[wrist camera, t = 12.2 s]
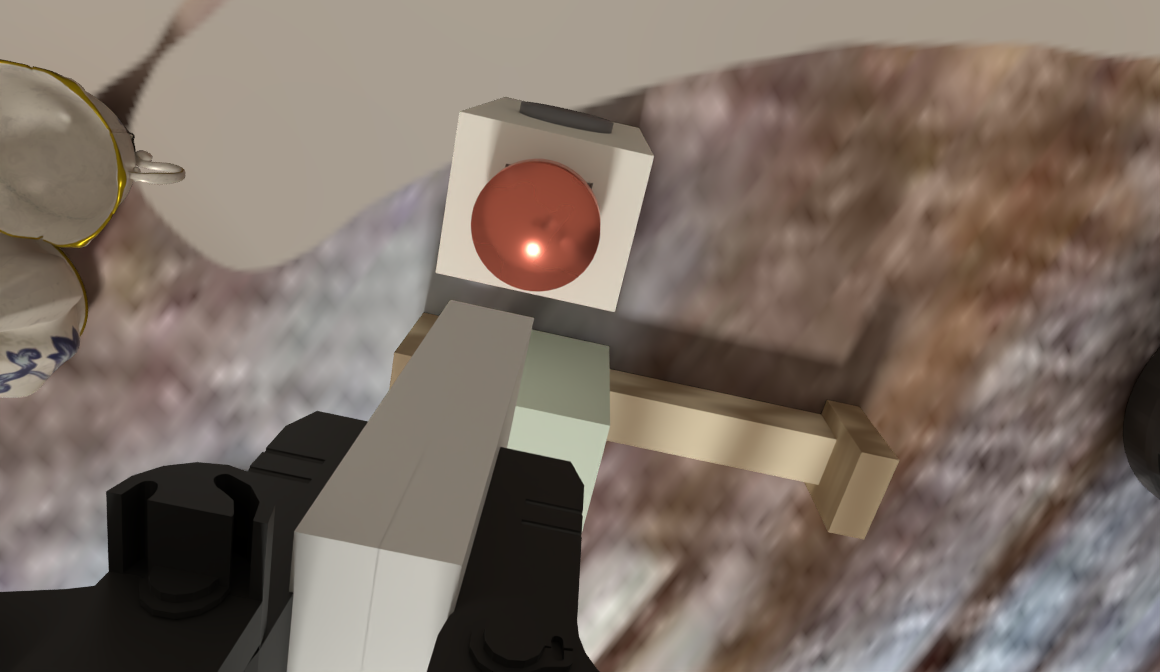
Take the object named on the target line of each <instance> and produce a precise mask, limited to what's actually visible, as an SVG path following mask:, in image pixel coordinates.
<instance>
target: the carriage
mask: <svg viewBox="0 0 1160 672" xmlns="http://www.w3.org/2000/svg"><path fill="white" fill-rule="evenodd" d="M609 428H610V375H609V346H605V345H601V344H596V343H592V342H587V341H582V340H578V339H573V338H569V337H564V336H559V335H555V334H550V333H546V332H541V331H536V330H532V331H531V335H530V340H529V345H528V350H527V355H526V359H525V364H524V369H523V374H522V379H521V383H520V388H519V393H518V398H517V403H516V407H515V412H514V417H513V422H512V427H511V431H510V436H509V441H508V446H507V448H509V449H514V450H518V451H523V452H528V453H533V454H537V455H542V456H547V457H552V458H556V459H561V460H566V461H571V463H572V464H573V466H574V468H575V470H576V472H577V473H578V475H579V477H580V479H581V480H582V482H583V484H584V502H583V513H582V515H583V521H582V530H583V526H584V522H585V519H586V515H587V511H588V507H589V504H590V500H591V496H592V492H593V488H594V485H595V481H596V477H597V473H598V470H599V466H600V462H601V458H602V455H603V451H604V447H605V443H606V440H607V436H608V432H609ZM581 534H582V533H581Z"/></svg>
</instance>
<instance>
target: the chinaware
mask: <svg viewBox="0 0 1160 672" xmlns="http://www.w3.org/2000/svg"><path fill="white" fill-rule="evenodd" d="M134 138H135V135H134V134H133V133H131V132H129V134H128V133H127V130H126V128H125V127H124V125H123V124H122V123H121V121H120V120H119V119H118V117H117V116H116V115H115V114H114V113H113V112H112V111H111V110H110V109H109V108H108V107H107V106H106V105H105V104H104V103H103V102H101V101H100V100H98V99H97V98H96V97H94V96H93V95H91V94H89V93H88V92H86V91H85V89H84V88H83V87H82V86H81V85H80V84H79V83H77V82H76V81H74V80H72V79H70V78H66V77H63V76H62V75H59V74H57V73H55V72H53V71H50V70H46V69H42V68H38V67H34V66H33V67H30V66H28V65H25V64H20V63H16V62H11V61H6V60H1V59H0V397H3V398H19V397H26V396H29V395H31V394H33V393H35V392H36V391H37V390H39V389H40V388H41V387H42V385H43V384H44V383H45V381H46V380H47V379H48V378H49V377H50V376H51V375H52V374H53V373H54V372H55V371H56V370H57V369H58V368H59V367H60V366H61V365H62V364H63V363H64V362H66V361H67V360H68V359H70V358H71V357H72V356H73V355H74V354H75V353H76V352H77V350H78V349H79V346H80V336H81V335H82V333H83V331H84V328H85V326H86V322H87V317H88V300H87V295H86V291H85V287H84V285H83V282H82V280H81V277H80V275H79V274H78V272H77V270H76V268H75V267H74V265H73V264H72V262H71V261H70V260H69V258H68V257H67V256H66V255H65V254H64V253H63V251H62V250H61V249H60V248H59V247H73V248H82V247H84V246H86V245H88V244H89V243H90V241H91V240H92V239H94V238H95V237H96V236H97V235H98V234H99V233H100V232H101V231H102V230H103V228H104V227H105V226H106V225H107V223H108V222H109V221H110V219H111V218H112V215H113V214H114V213H115V212H116V210H117V208H118V206H119V205H120V204H121V203H122V201H123V200H124V199H125V198H126V196H127V195H128V193H129V191H130V188H131V186H132V183H133V180H134V181H136V182H137V181H141V182H146V183H151V184H172V183H176V182H180V181H182V180H183V179H184V178H185V170H184V169H183V168H182V167H180V166H177V165H174V164H170V163H160V162H151V161H152V160H151V159H152V155H151V154H150V153H148V152H146V151H143V150H140V151H137V152H136V149H135V143H134ZM136 166H138V167H143V168H146V169H151V170H159V171H167V172H171V173H141V171H140V169H139V168H138V167H136Z"/></svg>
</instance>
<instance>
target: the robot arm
mask: <svg viewBox="0 0 1160 672" xmlns="http://www.w3.org/2000/svg"><path fill="white" fill-rule="evenodd" d="M533 321H534V318H532V317H528V316H523V315H518V314H514V313H509V312H505V311H500V310H496V309H491V308H486V307H482V306H477V305H473V304H468V303H464V302H459V301H454V300H450V301H449V302H448V304H447V305H446V307H445V308H444V310H443V311H442V313H441V314H440V316H439V317H438V319H437V320H436V322H435V323H434V325H433V326H432V327H431V329H430V330H429V332H428V333H427V335H426V336H425V338H424V339H423V341H422V342H421V344H420V345H419V347H418V348H417V350H416V351H415V353H414V354H413V356H412V357H411V359H410V360H409V362H408V363H407V365H406V366H405V368H404V369H403V371H402V372H401V374H400V375H399V377H398V378H397V379H396V381H395V382H394V384H393V385H392V387H391V388H390V390H389V391H388V393H387V394H386V396H385V397H384V399H383V400H382V402H381V403H380V405H379V406H378V408H377V409H376V411H375V412H374V414H373V415H372V417H371V418H370V420H369V421H368V422H367V421H363V420H358V419H353V418H348V417H344V416H339V415H334V414H329V413H325V412H320V411H316V412H314V413H312V414H310V415H308V416H306V417H304V418H301V419H299V420H297V421H295V422H293V423H291V424H289V425H287V426H285V427H284V429H283V430H282V431H281V432H280V433H279V434H278V435H277V436H276V437H275V439H274V440H273V441H272V442H271V443H270V444H269V445H268V446H267V448H266V451H265V452H262V453H261V454H260V455H259V456H258V458H257V459H256V460H255V461H254V462H253V463H252V464H251V465H250V468H249V471H244V470H241V469H238V468H235V467H232V466H229V465H222V464H210V463H199V462H195V463H186V464H177V465H168V466H162V467H159V468H156V469H152V470H149V471H146V472H143V473H140V474H136V475H133V476H131V477H129V478H128V479H126V480H124V481H123V482H121V483H120V484H118V485H116V486H115V487H113V488H111V489H110V490H108V491H106V497H107V529H108V560H109V572H108V573H107V574H106V575H105V576H104V577H103V578H102V579H101V580H100V581H99V582H98V583H97V584H96V585H95V586H89V587H80V588H72V589H59V590H36V591H13V592H0V672H599V671H598V670H597V668H596V667H595V666H594V664H593V663H592V661H591V660H590V659H589V657H588V656H587V654H586V653H585V651H584V648H583V646H582V643H581V641H580V638H579V634H578V625H577V613H578V594H579V576H580V557H581V539H582V537H581V533H582V521H583V515H582V513H583V502H584V484H583V482H582V480H581V479H580V477H579V475H578V473H577V472H576V470H575V468H574V466H573V464H572V463H571V461H566V460H561V459H556V458H552V457H547V456H542V455H537V454H533V453H528V452H523V451H518V450H514V449H509V448H507V446H508V441H509V436H510V431H511V427H512V422H513V417H514V412H515V407H516V403H517V398H518V393H519V388H520V383H521V379H522V374H523V369H524V364H525V359H526V355H527V350H528V345H529V340H530V335H531V331H532V326H533ZM1123 440H1124V448H1125V453H1126V456H1127V459H1128V462H1129V464H1130V467H1131V469H1132V470H1133V472H1134V474H1135V475H1136V477H1137V478H1138V480H1139V481H1140V482H1141V483H1142V484H1143V486H1144V487H1145V488H1146V489H1147V490H1149V491H1150V492H1151V493H1152V494H1153V495H1155V496H1156V497H1157V498H1159V499H1160V348H1159V349H1158V351H1157V352H1156V353H1155V354H1154V356H1153V357H1152V358H1151V359H1150V361H1149V362H1148V364H1147V365H1146V366H1145V368H1144V370H1143V371H1142V373H1141V374H1140V376H1139V378H1138V380H1137V382H1136V384H1135V386H1134V388H1133V390H1132V393H1131V395H1130V398H1129V401H1128V404H1127V408H1126V412H1125V417H1124V425H1123Z"/></svg>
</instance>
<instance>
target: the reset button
mask: <svg viewBox="0 0 1160 672" xmlns="http://www.w3.org/2000/svg"><path fill="white" fill-rule="evenodd" d="M600 225H601V218H600V210H599V206H598V203H597V200H596V197H595V195H594V193H593V191H592V189H591V188H590V187H589V185H588V184H587V182H586V181H585V180H584V179H583V178H582V177H581V176H580V175H579V174H578V173H576V172H575V171H574V170H572V169H571V168H569V167H567V166H566V165H563V164H561V163H559V162H555V161H552V160H547V159H527V160H522V161H518V162H516V163H513V164H511V165H509V166H507V167H505V168H504V169H502V170H501V171H500V172H498V173H497V174H496V175H495V176H494V177H493V178H492V179H491V180H490V181H489V182H488V183H487V184H486V185H485V186H484V188H483V189H482V191H481V192H480V194H479V196H478V197H477V199H476V202H475V204H474V207H473V211H472V216H471V234H472V240H473V244H474V247H475V249H476V252H477V254H478V256H479V258H480V259H481V261H482V263H483V264H484V265H485V266H486V268H487V269H488V270H489V271H490V272H491V273H492V274H493V275H494V276H495V277H497V278H498V279H499V280H501V281H503V282H504V283H506V284H508V285H510V286H512V287H515V288H518V289H521V290H526V291H537V292H541V291H549V290H554V289H557V288H560V287H563V286H565V285H567V284H569V283H571V282H572V281H573V280H575V279H576V278H578V277H579V276H580V275H581V274H582V273H583V272H584V271H585V270H586V269H587V267H588V266H589V265H590V263H591V261H592V260H593V258H594V256H595V254H596V251H597V248H598V245H599V240H600Z"/></svg>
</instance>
